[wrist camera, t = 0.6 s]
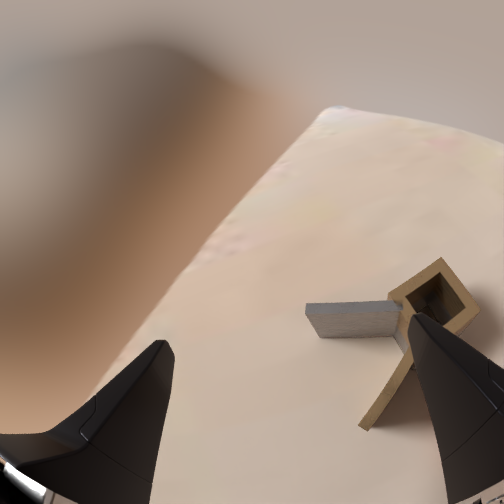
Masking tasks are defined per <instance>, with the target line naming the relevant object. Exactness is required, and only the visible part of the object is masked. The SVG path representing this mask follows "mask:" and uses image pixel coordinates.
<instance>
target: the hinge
mask: <svg viewBox="0 0 504 504" xmlns="http://www.w3.org/2000/svg"><path fill="white" fill-rule="evenodd" d="M426 305H428V306H429V308H430V309H431V311H432V312H433V314H434V315H435V317H436V319H437V320H438V322H439V323H440V325H442V326H443V327H445V328H446V329H448V330H449V331H450V332H452V333H453V334H455V335H456V336H459V335H460V334H461V333H462V332H463V331H464V329H465V328H466V327H467V326H468V325H469V324H470V323H471V321H472V320H473V319H474V318H475V317H476V315H477V314H478V313H479V312H480V311H481V309H480V308H479V307H478V305H477V304H476V302H475V301H474V299H473V298H472V296H471V295H470V294H469V292H468V291H467V289H466V288H465V287H464V285H463V284H462V283H461V281H460V280H459V279H458V277H457V276H456V275H455V274H454V272H453V271H452V270H451V268H450V267H449V266H448V265H447V263H446V262H445V261H444V260H443V259H442V257H440V258H439V259H438V260H436V261H435V262H434V263H432V264H431V265H429V266H428V267H427V268H425V269H424V270H422V271H421V272H419V273H418V274H417V275H415V276H414V277H412V278H411V279H409V280H408V281H406V282H405V283H403V284H402V285H400V286H399V287H397V288H395V289H394V290H392V291H391V292H389V293H388V300H387V301H368V302H345V303H306V311H305V314H306V316H307V318H308V319H309V321H310V322H311V324H312V326H313V327H314V329H315V331H316V332H317V334H318V336H319V337H320V338H355V337H385V336H394V338H395V340H396V341H397V343H398V345H399V347H400V348H401V350H402V352H403V354H404V356H403V358H402V360H401V361H400V363H399V365H398V367H397V368H396V370H395V372H394V373H393V375H392V376H391V378H390V380H389V381H388V383H387V384H386V386H385V387H384V389H383V391H382V392H381V394H380V395H379V397H378V398H377V399H376V401H375V402H374V404H373V405H372V407H371V408H370V409H369V411H368V412H367V414H366V415H365V416H364V418H363V419H362V420H361V422H360V423H359V424H358V426H360V427H361V428H363V429H365V430H366V431H368V430H369V429H370V428H371V426H372V425H373V424H374V422H375V421H376V420H377V418H378V417H379V416H380V414H381V413H382V411H383V410H384V408H385V407H386V405H387V404H388V403H389V401H390V400H391V398H392V396H393V395H394V393H395V392H396V390H397V389H398V387H399V385H400V384H401V382H402V381H403V379H404V377H405V376H406V374H407V372H408V370H409V369H410V367H411V368H412V370H413V369H415V364H414V360H413V355H412V351H411V347H410V343H409V340H408V335H407V331H408V327H409V323H410V319H411V316H412V315H413V314H416V312H418V311H419V310H421V309H422V308H424V307H425V306H426Z"/></svg>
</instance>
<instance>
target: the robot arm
mask: <svg viewBox="0 0 504 504" xmlns="http://www.w3.org/2000/svg"><path fill="white" fill-rule="evenodd" d="M407 335H408V340H409V343H410V347H411V351H412V355H413V360H414V364H415V368H416V372H417V375H418V378H419V381H420V384H421V387H422V390H423V393H424V396H425V399H426V403H427V406H428V409H429V413H430V416H431V420H432V424H433V427H434V431H435V435H436V439H437V443H438V448H439V452H440V457H441V461H442V467H443V473H444V478H445V484H446V491H447V498H448V504H456V503H458V502H461V501H463V500H465V499H467V498H470V497H472V496H474V495H476V494H478V493H480V496H481V498H480V499H478V500H477V501H475V502H473V504H504V369H502V368H501V367H500V366H498V365H497V364H495V363H494V362H493V361H491V360H490V359H488V358H487V357H486V356H484V355H483V354H482V353H480V352H479V351H477V350H476V349H475V348H473V347H472V346H470V345H469V344H468V343H466V342H465V341H463V340H462V339H461V338H459V337H458V336H456V335H455V334H453V333H452V332H450V331H449V330H448V329H446V328H445V327H443V326H442V325H440V324H439V323H437V322H436V321H434V320H433V319H431V318H430V317H428V316H427V315H425V314H424V313H416V314H413V315H412V316H411V319H410V323H409V327H408V331H407ZM174 362H175V356H174V353H173V351H172V349H171V347H170V345H169V343H168V342H167V341H166V340H156V341H154V342H153V343H152V344H151V345H150V346H149V347H148V348H146V349H145V350H144V351H143V352H142V353H141V354H140V355H139V356H138V357H136V358H135V359H134V360H133V361H132V362H131V363H130V364H129V365H128V366H127V367H125V368H124V369H123V370H122V371H121V372H120V373H119V374H118V375H117V376H115V377H114V378H113V379H112V380H111V381H110V382H109V383H108V384H107V385H105V386H104V387H103V388H102V389H101V390H100V391H99V392H98V393H97V394H96V395H94V396H93V397H92V398H91V399H90V400H89V401H87V402H86V403H85V404H84V405H83V406H82V407H80V408H79V409H78V410H77V411H75V412H74V413H73V414H71V415H70V416H69V417H68V418H66V419H65V420H63V421H62V422H61V423H59V424H58V425H57V426H55V427H54V428H52V429H51V430H49V431H46V432H43V433H36V434H0V457H1V458H2V459H3V460H5V461H6V464H4V463H3V462H1V461H0V504H149V501H150V495H151V489H152V483H153V477H154V472H155V466H156V461H157V456H158V451H159V446H160V441H161V436H162V431H163V426H164V422H165V417H166V413H167V408H168V404H169V399H170V394H171V388H172V379H173V370H174Z"/></svg>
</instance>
